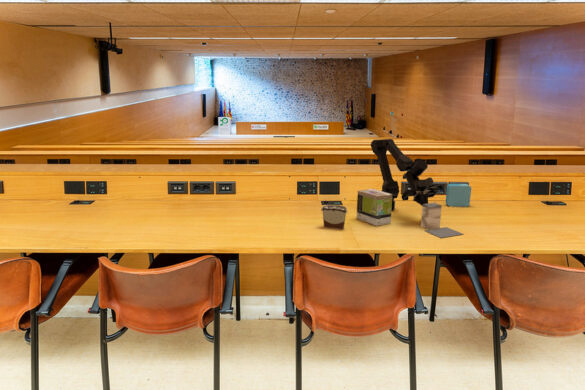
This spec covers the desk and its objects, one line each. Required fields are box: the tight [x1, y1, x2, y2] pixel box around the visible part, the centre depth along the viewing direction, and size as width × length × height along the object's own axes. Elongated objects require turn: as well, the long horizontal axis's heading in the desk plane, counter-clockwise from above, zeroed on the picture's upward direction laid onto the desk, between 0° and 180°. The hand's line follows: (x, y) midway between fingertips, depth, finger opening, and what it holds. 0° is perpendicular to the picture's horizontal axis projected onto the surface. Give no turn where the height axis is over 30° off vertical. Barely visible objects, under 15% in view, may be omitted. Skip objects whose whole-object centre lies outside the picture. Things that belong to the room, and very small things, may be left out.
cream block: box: [420, 202, 443, 230], centre depth 212 cm, size 5×7×11 cm
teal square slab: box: [445, 183, 472, 208], centre depth 249 cm, size 12×4×12 cm, turn 86°
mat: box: [423, 226, 464, 239], centre depth 205 cm, size 11×13×1 cm
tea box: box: [356, 188, 393, 227], centre depth 220 cm, size 15×10×15 cm, turn 31°
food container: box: [321, 204, 348, 230], centre depth 212 cm, size 12×6×10 cm, turn 71°
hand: (427, 208), depth 213 cm, fingers closed
